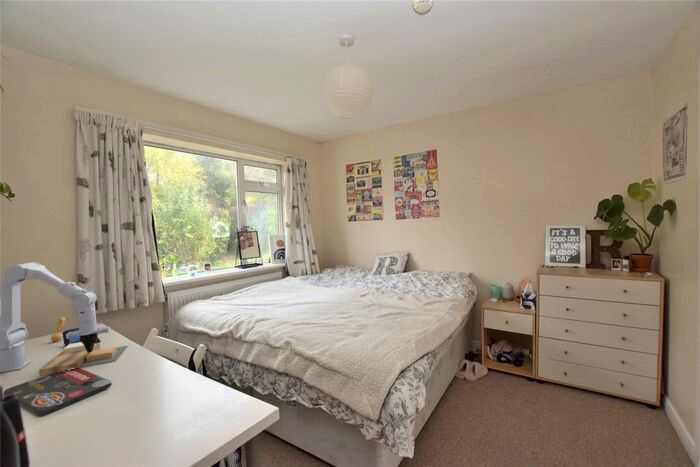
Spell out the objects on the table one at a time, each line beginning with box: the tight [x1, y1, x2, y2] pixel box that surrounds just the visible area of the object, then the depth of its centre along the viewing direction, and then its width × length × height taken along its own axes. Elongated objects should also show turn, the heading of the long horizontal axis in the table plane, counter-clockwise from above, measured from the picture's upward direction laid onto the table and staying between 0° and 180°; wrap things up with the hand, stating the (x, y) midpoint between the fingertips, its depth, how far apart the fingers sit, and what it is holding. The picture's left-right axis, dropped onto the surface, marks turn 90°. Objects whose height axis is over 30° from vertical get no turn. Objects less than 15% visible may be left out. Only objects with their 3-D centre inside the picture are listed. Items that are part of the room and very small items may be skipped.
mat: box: [79, 345, 129, 369], centre depth 134 cm, size 12×17×1 cm
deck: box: [38, 342, 101, 377], centre depth 131 cm, size 12×22×2 cm, turn 22°
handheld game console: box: [62, 327, 101, 348], centre depth 149 cm, size 12×11×7 cm
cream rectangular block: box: [62, 342, 95, 353], centre depth 137 cm, size 9×6×2 cm, turn 112°
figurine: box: [50, 316, 67, 343], centre depth 155 cm, size 8×6×12 cm
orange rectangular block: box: [86, 346, 118, 361], centre depth 133 cm, size 9×6×2 cm, turn 112°
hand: (90, 351), depth 131 cm, fingers closed
